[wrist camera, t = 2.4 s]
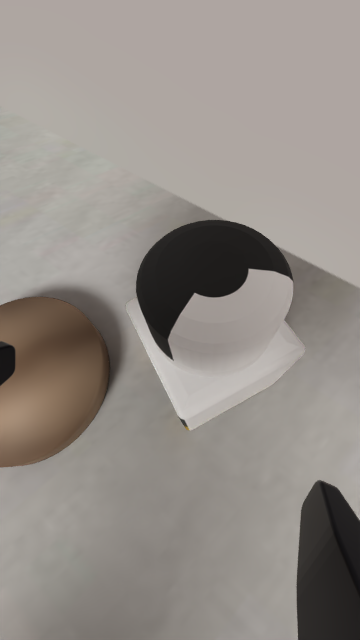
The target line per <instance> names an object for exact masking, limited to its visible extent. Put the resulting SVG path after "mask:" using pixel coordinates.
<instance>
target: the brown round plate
mask: <svg viewBox="0 0 360 640" xmlns="http://www.w3.org/2000/svg"><path fill="white" fill-rule="evenodd" d="M0 341H3V342H6V343H8V344H10V345H12V346H14V348H15V351H16V360H15V372H14V373H13V375H12V376H11V377H10V378H9V379H8V380H7V381H6V382H4V383H3V384H2V385H1V386H0V467H13V466H24V465H29V464H33V463H37V462H39V461H42V460H45V459H47V458H49V457H51V456H53V455H55V454H57V453H59V452H60V451H62V450H63V449H65V448H66V447H67V446H69V445H70V444H71V443H72V442H73V441H75V440H76V439H77V438H78V437H79V436H80V435H81V434H82V433H83V432H84V431H85V429H86V428H87V427H88V426H89V424H90V423H91V422H92V420H93V419H94V417H95V415H96V414H97V412H98V410H99V409H100V406H101V404H102V402H103V399H104V397H105V394H106V390H107V387H108V381H109V373H110V363H109V355H108V351H107V347H106V345H105V342H104V340H103V338H102V336H101V335H100V333H99V331H98V330H97V329H96V328H95V327H94V325H93V324H92V323H91V322H90V321H89V319H88V318H87V317H86V316H85V315H84V314H83V313H82V312H81V311H80V310H79V309H77V308H76V307H74V306H73V305H71V304H69V303H67V302H64V301H62V300H58V299H55V298H48V297H29V298H23V299H18V300H14V301H11V302H8V303H5V304H3V305H0Z"/></svg>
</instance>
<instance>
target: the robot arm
mask: <svg viewBox="0 0 360 640" xmlns="http://www.w3.org/2000/svg"><path fill="white" fill-rule="evenodd" d="M15 360H16V351H15V348H14V346H12V345H10V344H8V343H6V342H3V341H0V386H1V385H2V384H3V383H4V382H6V381H7V380H8V379H9V378H10V377H11V376H12V375H13V373H14V372H15ZM297 620H298V640H360V520H359V519H358V517H357V516H356V514H355V513H354V511H353V510H352V508H351V507H350V506H349V504H348V503H347V501H346V500H345V498H344V497H343V495H342V494H341V492H340V491H339V490H338V488H336V487H335V486H333V485H331V484H328V483H326V482H324V481H321V480H318V481H317V482H315V484H314V485H313V487H312V489H311V491H310V492H309V494H308V496H307V497H306V499H305V501H304V503H303V505H302V510H301V522H300V537H299V552H298V568H297Z"/></svg>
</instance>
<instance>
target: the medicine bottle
mask: <svg viewBox="0 0 360 640" xmlns="http://www.w3.org/2000/svg"><path fill="white" fill-rule="evenodd" d="M136 293H137V297H136V298H134V299H132V300H130V301H128V302H127V303H126V311H127V313H128V315H129V317H130V319H131V321H132V323H133V325H134V327H135V329H136V331H137V333H138V335H139V337H140V339H141V341H142V343H143V345H144V348H145V350H146V352H147V354H148V356H149V358H150V360H151V362H152V364H153V366H154V368H155V370H156V372H157V374H158V376H159V378H160V380H161V382H162V384H163V386H164V388H165V390H166V392H167V394H168V396H169V399H170V401H171V403H172V405H173V407H174V409H175V411H176V413H177V415H178V417H179V418H180V420H181V422H182V423H183V425H184V426H185V428H186V429H187V430H193V429H195V428H197V427H199V426H200V425H202V424H204V423H206V422H207V421H209V420H211V419H213V418H215V417H216V416H218V415H220V414H222V413H223V412H225V411H227V410H229V409H230V408H232V407H234V406H236V405H238V404H239V403H241V402H243V401H245V400H246V399H248V398H250V397H252V396H253V395H255V394H257V393H259V392H261V391H262V390H264V389H266V388H268V387H269V386H271V385H273V384H274V383H275V382H276V381H277V380H278V379H279V378H280V377H281V376H282V375H283V374H284V373H285V372H286V371H287V370H288V369H289V368H290V367H291V366H292V365H293V364H294V363H295V362H296V361H297V360H298V359H299V358H300V357H301V356H302V355H303V354H304V353H305V346H304V344H303V343H302V342H301V341H300V339H299V338H298V337H297V335H296V334H295V333H294V332H293V330H292V329H291V328H290V326H289V325H288V324H287V323H286V321H285V320H284V318H285V317H286V315H287V313H288V311H289V308H290V305H291V302H292V298H293V278H292V273H291V270H290V267H289V265H288V263H287V261H286V259H285V257H284V256H283V254H282V253H281V252H280V250H279V249H278V248H277V247H276V246H275V245H274V244H273V243H272V242H271V241H270V240H269V239H268V238H266V237H265V236H263V235H262V234H261V233H259V232H257V231H256V230H254V229H252V228H249V227H247V226H245V225H242V224H238V223H235V222H230V221H223V220H206V221H198V222H194V223H190V224H187V225H184V226H181V227H179V228H177V229H175V230H173V231H172V232H170V233H168V234H167V235H165V236H164V237H163V238H162V239H160V240H159V241H158V242H157V243H156V244H155V245H154V246H153V247H152V248H151V249H150V250H149V252H148V253H147V254H146V256H145V257H144V259H143V261H142V263H141V265H140V268H139V271H138V275H137V281H136Z"/></svg>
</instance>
